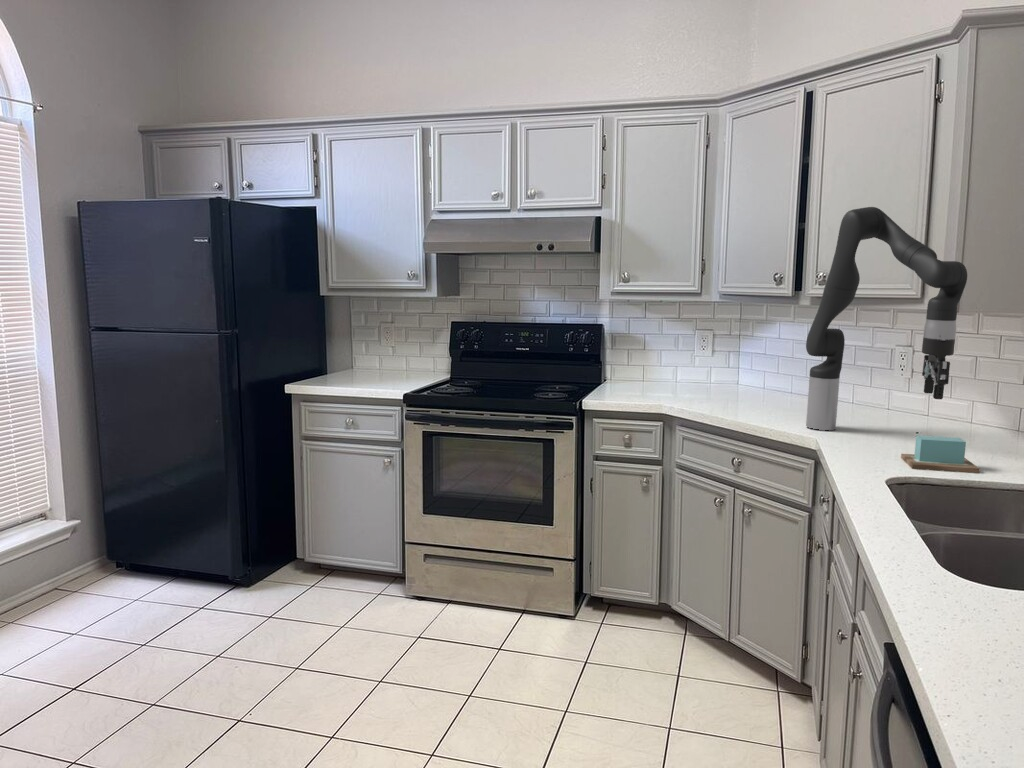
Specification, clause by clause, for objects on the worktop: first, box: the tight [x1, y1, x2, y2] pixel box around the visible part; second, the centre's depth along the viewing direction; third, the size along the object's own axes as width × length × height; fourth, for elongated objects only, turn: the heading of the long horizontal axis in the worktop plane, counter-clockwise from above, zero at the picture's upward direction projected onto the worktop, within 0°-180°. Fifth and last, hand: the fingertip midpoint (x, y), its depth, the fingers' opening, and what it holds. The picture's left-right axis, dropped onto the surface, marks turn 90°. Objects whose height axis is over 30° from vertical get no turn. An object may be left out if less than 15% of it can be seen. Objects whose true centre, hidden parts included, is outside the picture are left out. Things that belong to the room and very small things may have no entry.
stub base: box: [900, 453, 980, 474], centre depth 206 cm, size 12×16×4 cm
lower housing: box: [914, 435, 967, 464], centre depth 206 cm, size 5×11×6 cm, turn 76°
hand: (932, 396), depth 206 cm, fingers open, 8 cm apart
